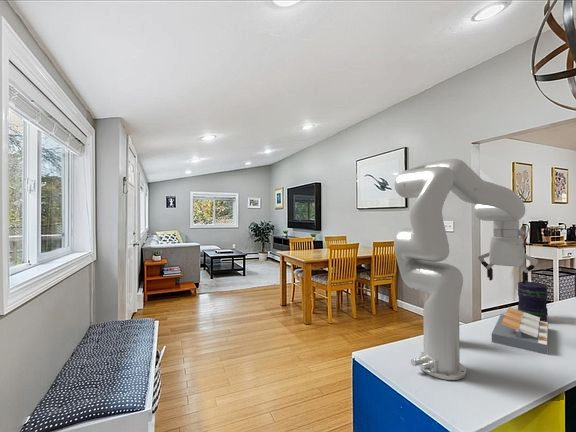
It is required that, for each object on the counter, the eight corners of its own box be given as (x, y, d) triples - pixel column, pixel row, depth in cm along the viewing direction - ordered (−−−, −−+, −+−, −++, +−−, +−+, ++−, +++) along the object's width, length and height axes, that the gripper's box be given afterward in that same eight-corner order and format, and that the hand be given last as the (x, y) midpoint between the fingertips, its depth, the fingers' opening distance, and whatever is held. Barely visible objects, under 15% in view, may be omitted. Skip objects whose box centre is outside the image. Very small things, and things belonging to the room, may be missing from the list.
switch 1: (538, 325, 112) (539, 320, 112) (506, 314, 119) (507, 309, 118) (538, 322, 116) (539, 317, 115) (507, 311, 122) (508, 306, 122)
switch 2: (537, 332, 106) (538, 327, 106) (503, 320, 113) (505, 315, 112) (537, 328, 110) (539, 323, 109) (505, 316, 116) (506, 311, 116)
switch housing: (547, 354, 96) (547, 339, 96) (491, 341, 106) (491, 327, 106) (548, 329, 116) (548, 317, 116) (501, 321, 126) (500, 309, 126)
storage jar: (512, 317, 130) (512, 282, 130) (526, 313, 134) (526, 280, 134) (539, 324, 121) (538, 288, 121) (553, 321, 125) (552, 285, 125)
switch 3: (536, 339, 100) (538, 334, 100) (500, 326, 107) (502, 321, 106) (536, 335, 104) (538, 330, 103) (502, 322, 110) (503, 317, 110)
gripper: (538, 233, 104) (539, 282, 104) (479, 232, 115) (480, 276, 115) (537, 235, 98) (538, 287, 98) (475, 234, 109) (476, 280, 110)
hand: (507, 281), depth 107 cm, fingers open, 9 cm apart
